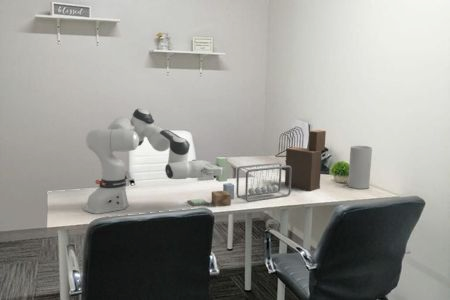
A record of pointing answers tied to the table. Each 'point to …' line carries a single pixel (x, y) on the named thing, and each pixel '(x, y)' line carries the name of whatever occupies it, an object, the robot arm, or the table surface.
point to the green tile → (197, 202)
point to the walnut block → (221, 198)
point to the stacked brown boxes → (306, 163)
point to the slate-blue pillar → (229, 189)
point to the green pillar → (221, 162)
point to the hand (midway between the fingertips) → (222, 167)
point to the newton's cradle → (263, 189)
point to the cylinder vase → (359, 167)
